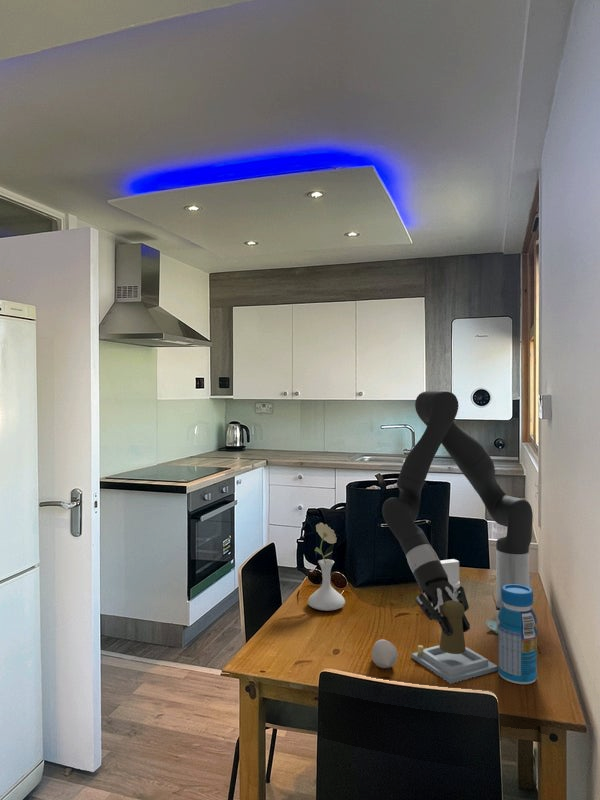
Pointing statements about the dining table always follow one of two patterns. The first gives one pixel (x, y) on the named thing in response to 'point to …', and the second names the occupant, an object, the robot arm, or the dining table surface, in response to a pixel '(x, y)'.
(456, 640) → the cork
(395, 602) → the dining table surface
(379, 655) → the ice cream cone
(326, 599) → the flower in vase
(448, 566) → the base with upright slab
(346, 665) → the dining table surface
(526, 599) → the beverage bottle
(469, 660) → the board
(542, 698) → the dining table surface
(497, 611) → the pacifier
